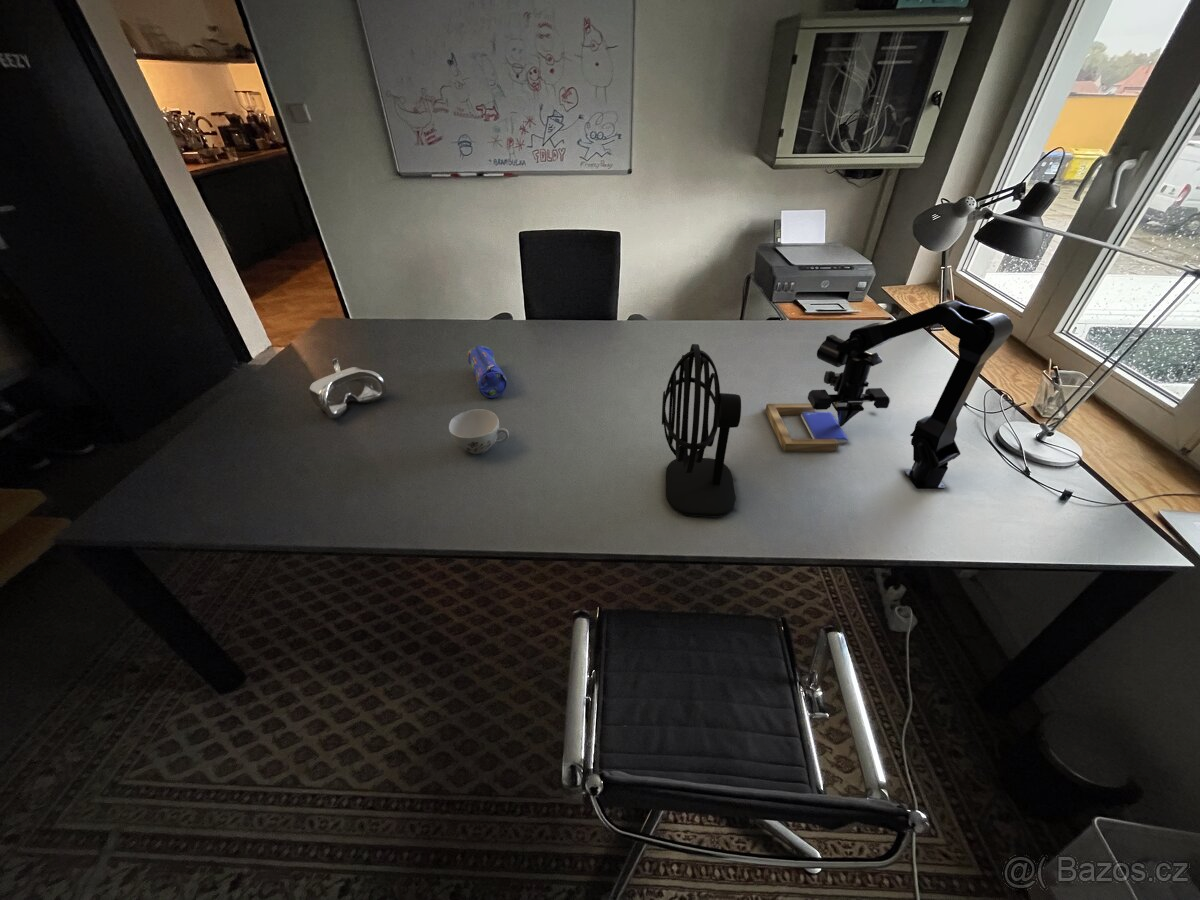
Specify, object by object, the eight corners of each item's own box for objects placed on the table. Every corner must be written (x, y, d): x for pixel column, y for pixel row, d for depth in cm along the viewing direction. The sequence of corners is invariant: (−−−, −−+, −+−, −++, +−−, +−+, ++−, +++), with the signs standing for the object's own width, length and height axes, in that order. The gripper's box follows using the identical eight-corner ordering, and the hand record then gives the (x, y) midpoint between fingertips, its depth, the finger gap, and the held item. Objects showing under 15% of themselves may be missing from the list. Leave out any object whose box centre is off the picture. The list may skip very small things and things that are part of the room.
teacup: (446, 459, 128) (439, 434, 123) (465, 431, 137) (459, 407, 133) (502, 465, 125) (498, 439, 121) (518, 436, 135) (514, 411, 130)
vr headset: (332, 425, 141) (313, 380, 132) (313, 411, 147) (294, 367, 138) (390, 399, 152) (376, 356, 143) (371, 387, 158) (356, 344, 149)
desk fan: (658, 450, 129) (666, 321, 108) (727, 454, 128) (749, 323, 106) (656, 526, 108) (666, 384, 87) (739, 532, 106) (770, 387, 85)
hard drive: (801, 412, 140) (815, 438, 130) (831, 412, 139) (848, 438, 129) (800, 417, 140) (814, 443, 131) (830, 416, 140) (846, 443, 130)
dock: (835, 451, 128) (837, 443, 126) (783, 451, 128) (785, 443, 127) (811, 410, 143) (813, 403, 141) (765, 411, 143) (766, 403, 142)
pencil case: (510, 397, 152) (506, 368, 146) (481, 403, 149) (476, 374, 143) (494, 365, 168) (490, 338, 162) (468, 370, 166) (463, 343, 160)
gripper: (880, 358, 131) (863, 408, 141) (807, 360, 132) (796, 410, 141) (899, 379, 122) (880, 431, 132) (821, 381, 123) (808, 433, 133)
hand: (840, 425), depth 135 cm, fingers closed
